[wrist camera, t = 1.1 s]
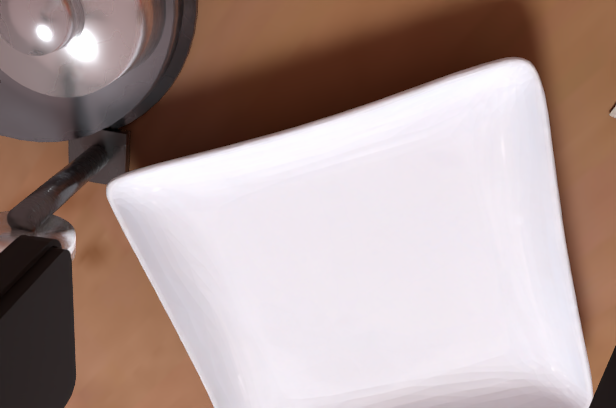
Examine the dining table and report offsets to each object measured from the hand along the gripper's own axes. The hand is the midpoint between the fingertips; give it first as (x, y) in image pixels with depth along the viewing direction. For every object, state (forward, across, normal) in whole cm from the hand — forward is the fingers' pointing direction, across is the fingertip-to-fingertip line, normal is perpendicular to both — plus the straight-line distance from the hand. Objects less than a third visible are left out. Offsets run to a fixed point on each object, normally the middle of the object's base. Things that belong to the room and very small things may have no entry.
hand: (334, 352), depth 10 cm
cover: (+18, +11, -3) cm, 21 cm away
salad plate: (+21, -3, +10) cm, 24 cm away
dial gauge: (+21, +12, +5) cm, 24 cm away
